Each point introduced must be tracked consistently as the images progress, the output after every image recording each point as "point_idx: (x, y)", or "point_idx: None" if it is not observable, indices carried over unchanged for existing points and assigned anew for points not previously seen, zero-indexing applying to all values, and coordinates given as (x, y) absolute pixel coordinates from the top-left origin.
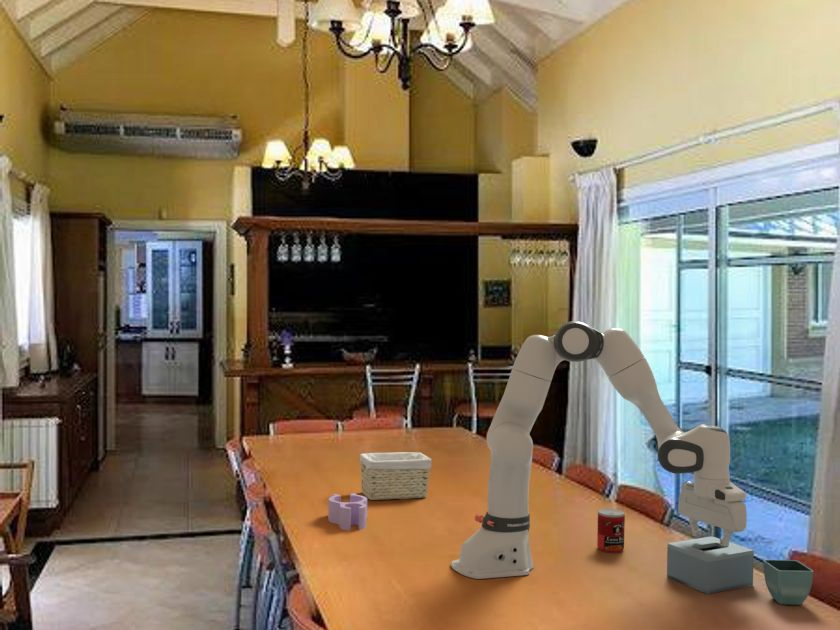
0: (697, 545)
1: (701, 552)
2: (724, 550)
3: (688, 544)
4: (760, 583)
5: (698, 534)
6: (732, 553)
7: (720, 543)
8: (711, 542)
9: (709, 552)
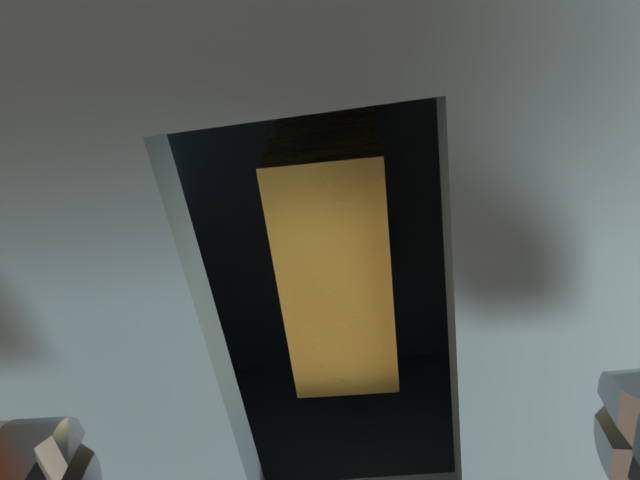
0: (450, 238)
1: (80, 45)
2: (138, 409)
3: (563, 134)
4: None
5: (620, 432)
6: (12, 416)
7: (39, 426)
8: (485, 472)
9: (69, 178)
